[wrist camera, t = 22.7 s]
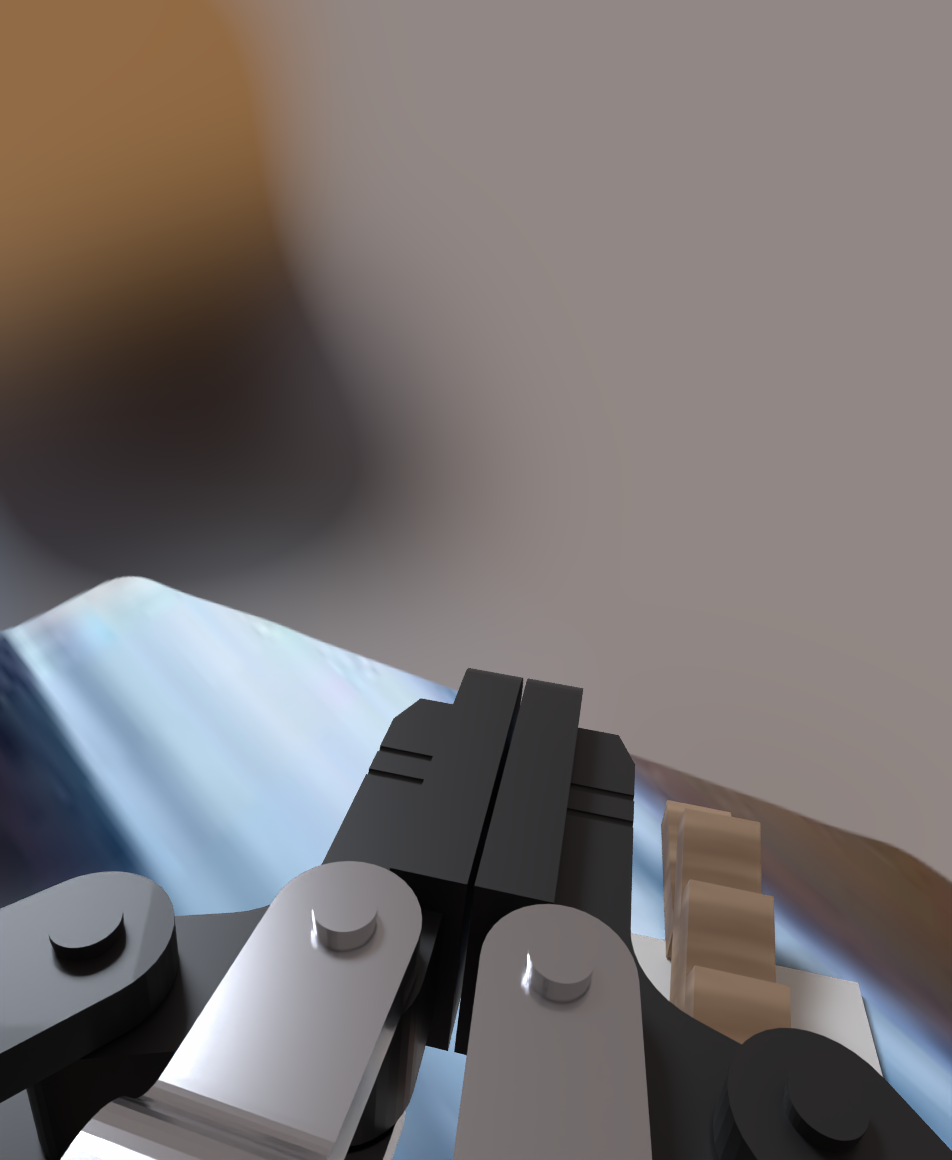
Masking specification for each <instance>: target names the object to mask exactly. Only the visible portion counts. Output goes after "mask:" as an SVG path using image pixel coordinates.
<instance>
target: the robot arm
mask: <svg viewBox="0 0 952 1160" xmlns="http://www.w3.org/2000/svg"><path fill="white" fill-rule="evenodd" d="M522 688H523V678H521V677H515V676H510V675H504V674H499V673H494V672H488V671H482V670H477V669H471V668H468V669H467V671H466V673H465V676H464V678H463V680H462V683H461V686H460V688H459V691H458V693H457V696H456V698H455V701H454V704H448V703H443V702H437V701H432V700H427V699H419V700H418V701H417V702H415V703H414V704H413V705H411V706H410V707H409V708H407V709H406V710H405V711H403V712H402V713H401V714H399V715H398V716H397V717H395V718H394V719H393V721H392V723H391V725H390V727H389V729H388V731H387V733H386V735H385V737H384V739H383V741H382V743H381V745H380V750H379V751H377V754H376V756H375V758H374V760H373V762H372V764H371V766H370V768H369V772H368V774H366V776H365V778H364V780H363V782H362V784H361V786H360V788H359V790H358V792H357V794H356V796H355V798H354V800H353V802H352V804H351V806H350V808H349V810H348V812H347V814H346V816H345V818H344V820H343V823H342V825H341V827H340V829H339V831H338V833H337V835H336V837H335V839H334V841H333V843H332V845H331V847H330V849H329V851H328V853H327V855H326V857H325V859H324V861H323V863H322V864H321V866H318V867H315V868H312V869H310V870H308V871H306V872H304V873H302V874H300V875H299V876H297V877H296V878H294V879H293V880H291V881H290V882H289V883H288V884H287V885H286V886H285V887H284V888H282V890H281V891H280V892H279V894H278V895H277V896H276V897H275V899H274V900H273V902H272V903H271V905H268V906H265V907H262V908H258V909H254V910H250V911H244V912H235V913H222V914H205V915H189V916H175V915H174V910H173V905H172V902H171V900H170V898H169V896H168V895H167V893H166V892H165V891H164V890H163V889H162V887H160V886H159V885H158V884H156V883H155V882H154V881H152V880H150V879H148V878H145V877H143V876H140V875H136V874H133V873H126V872H100V873H92V874H88V875H84V876H80V877H76V878H73V879H71V880H68V881H65V882H62V883H60V884H58V885H55V886H53V887H51V888H48V889H46V890H44V891H41V892H39V893H37V894H34V895H32V896H30V897H27V898H25V899H23V900H20V901H18V902H16V903H14V904H11V905H9V906H7V907H4V908H2V909H0V1160H392V1157H393V1155H394V1152H395V1149H396V1146H397V1143H398V1140H399V1137H400V1134H401V1131H402V1128H403V1124H404V1120H405V1116H406V1108H407V1106H408V1104H409V1102H410V1099H411V1096H412V1094H413V1091H414V1087H415V1083H416V1079H417V1076H418V1072H419V1068H420V1064H421V1061H422V1057H423V1053H424V1049H425V1045H426V1046H430V1047H434V1048H438V1049H442V1050H446V1051H448V1048H449V1044H450V1040H451V1035H452V1031H453V1027H454V1023H455V1019H456V1014H457V1010H458V1006H459V1002H460V1009H459V1018H458V1026H457V1034H456V1042H455V1051H454V1052H456V1053H460V1054H464V1055H467V1058H466V1066H465V1073H464V1081H463V1088H462V1096H461V1103H460V1111H459V1118H458V1126H457V1133H456V1141H455V1149H454V1156H453V1160H952V1151H951V1150H950V1149H949V1148H948V1146H947V1145H946V1144H945V1143H944V1142H943V1141H942V1140H941V1139H940V1138H939V1137H938V1136H937V1135H936V1134H935V1133H934V1131H933V1130H932V1129H931V1128H930V1127H929V1126H928V1125H927V1124H926V1123H925V1122H924V1121H923V1120H922V1119H921V1117H920V1116H919V1115H918V1114H917V1113H916V1112H915V1111H914V1110H913V1109H912V1108H911V1107H910V1106H909V1105H908V1104H907V1102H906V1101H905V1100H904V1099H903V1098H902V1097H901V1096H900V1095H899V1094H898V1093H897V1092H896V1091H895V1090H894V1088H893V1087H892V1086H891V1085H890V1084H889V1083H888V1082H887V1081H886V1080H885V1079H884V1078H883V1077H882V1076H881V1075H880V1074H879V1073H878V1072H877V1071H876V1070H875V1069H874V1068H873V1067H872V1066H871V1065H870V1064H869V1063H867V1062H866V1061H865V1060H864V1059H862V1058H861V1057H860V1056H858V1055H857V1054H856V1053H855V1052H853V1051H851V1050H850V1049H848V1048H847V1047H845V1046H843V1045H842V1044H840V1043H838V1042H836V1041H834V1040H832V1039H830V1038H827V1037H825V1036H823V1035H820V1034H817V1033H814V1032H811V1031H807V1030H801V1029H796V1028H775V1029H769V1030H765V1031H762V1032H760V1033H757V1034H755V1035H753V1036H752V1037H750V1038H749V1039H747V1040H746V1041H745V1042H744V1043H743V1044H740V1043H738V1042H736V1041H735V1040H733V1039H731V1038H729V1037H727V1036H725V1035H724V1034H722V1033H720V1032H718V1031H716V1030H714V1029H713V1028H711V1027H709V1026H707V1025H705V1024H703V1023H701V1022H700V1021H698V1020H696V1019H694V1018H693V1017H691V1016H689V1015H688V1014H686V1013H685V1012H683V1011H681V1010H680V1009H679V1008H678V1007H676V1006H675V1005H674V1004H672V1003H671V1002H670V1001H669V1000H667V999H666V998H665V997H664V996H663V995H662V994H661V993H660V992H659V991H658V990H657V989H656V987H655V986H654V985H653V984H652V982H651V981H650V980H649V979H648V977H647V976H646V974H645V973H644V971H643V969H642V968H641V966H640V964H639V962H638V959H637V957H636V955H635V952H634V949H633V945H632V941H631V892H632V855H633V818H634V801H633V799H634V781H635V764H634V762H633V760H632V758H631V757H630V755H629V753H628V751H627V749H626V748H625V746H624V744H623V742H622V740H621V739H620V737H619V735H614V734H609V733H604V732H598V731H593V730H588V729H582V728H578V723H579V716H580V709H581V701H582V694H583V688H577V687H572V686H566V685H561V684H555V683H549V682H544V681H539V680H533V679H527V682H526V686H525V690H524V694H523V698H522V701H521V697H522ZM520 704H521V705H520ZM460 997H461V1001H460Z"/></svg>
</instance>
